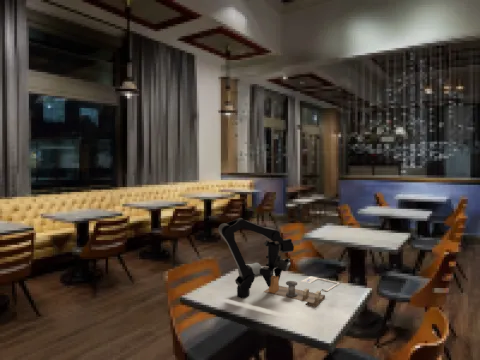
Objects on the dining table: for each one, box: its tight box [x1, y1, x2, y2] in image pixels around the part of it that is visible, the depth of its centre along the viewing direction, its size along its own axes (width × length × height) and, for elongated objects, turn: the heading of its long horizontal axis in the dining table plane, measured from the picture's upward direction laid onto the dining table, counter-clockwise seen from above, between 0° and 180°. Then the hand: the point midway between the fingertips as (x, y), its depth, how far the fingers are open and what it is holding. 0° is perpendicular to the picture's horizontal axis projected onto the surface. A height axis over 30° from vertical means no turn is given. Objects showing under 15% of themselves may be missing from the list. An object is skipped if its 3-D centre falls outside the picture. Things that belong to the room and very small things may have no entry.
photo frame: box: [300, 276, 341, 292], centre depth 188 cm, size 15×1×18 cm
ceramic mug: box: [248, 262, 263, 279], centre depth 201 cm, size 11×8×8 cm
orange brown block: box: [268, 275, 280, 293], centre depth 175 cm, size 3×5×7 cm, turn 146°
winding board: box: [263, 280, 326, 308], centre depth 171 cm, size 12×28×8 cm, turn 56°
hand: (273, 284), depth 175 cm, fingers open, 9 cm apart
